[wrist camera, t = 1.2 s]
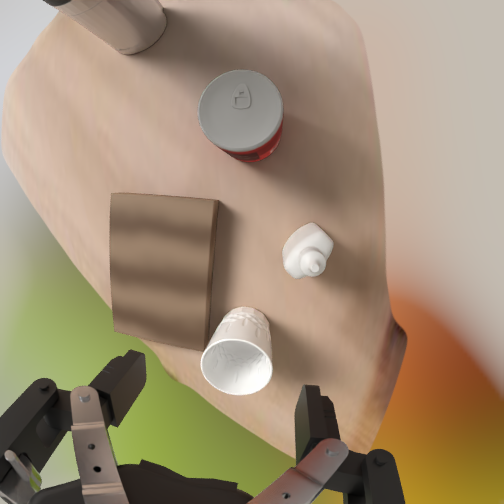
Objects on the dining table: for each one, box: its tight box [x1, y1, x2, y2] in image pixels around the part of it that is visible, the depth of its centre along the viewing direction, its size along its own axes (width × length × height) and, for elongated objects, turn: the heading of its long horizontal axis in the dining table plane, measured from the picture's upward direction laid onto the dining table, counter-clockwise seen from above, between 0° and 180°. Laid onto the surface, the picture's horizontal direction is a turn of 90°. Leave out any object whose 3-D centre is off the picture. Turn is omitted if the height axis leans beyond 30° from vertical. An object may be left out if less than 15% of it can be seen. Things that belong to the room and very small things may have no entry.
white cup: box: [201, 306, 273, 395], centre depth 34 cm, size 8×8×10 cm
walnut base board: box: [110, 193, 219, 352], centre depth 36 cm, size 20×14×3 cm
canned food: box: [198, 69, 284, 162], centre depth 27 cm, size 8×8×11 cm
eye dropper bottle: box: [282, 223, 334, 279], centre depth 29 cm, size 4×6×12 cm
